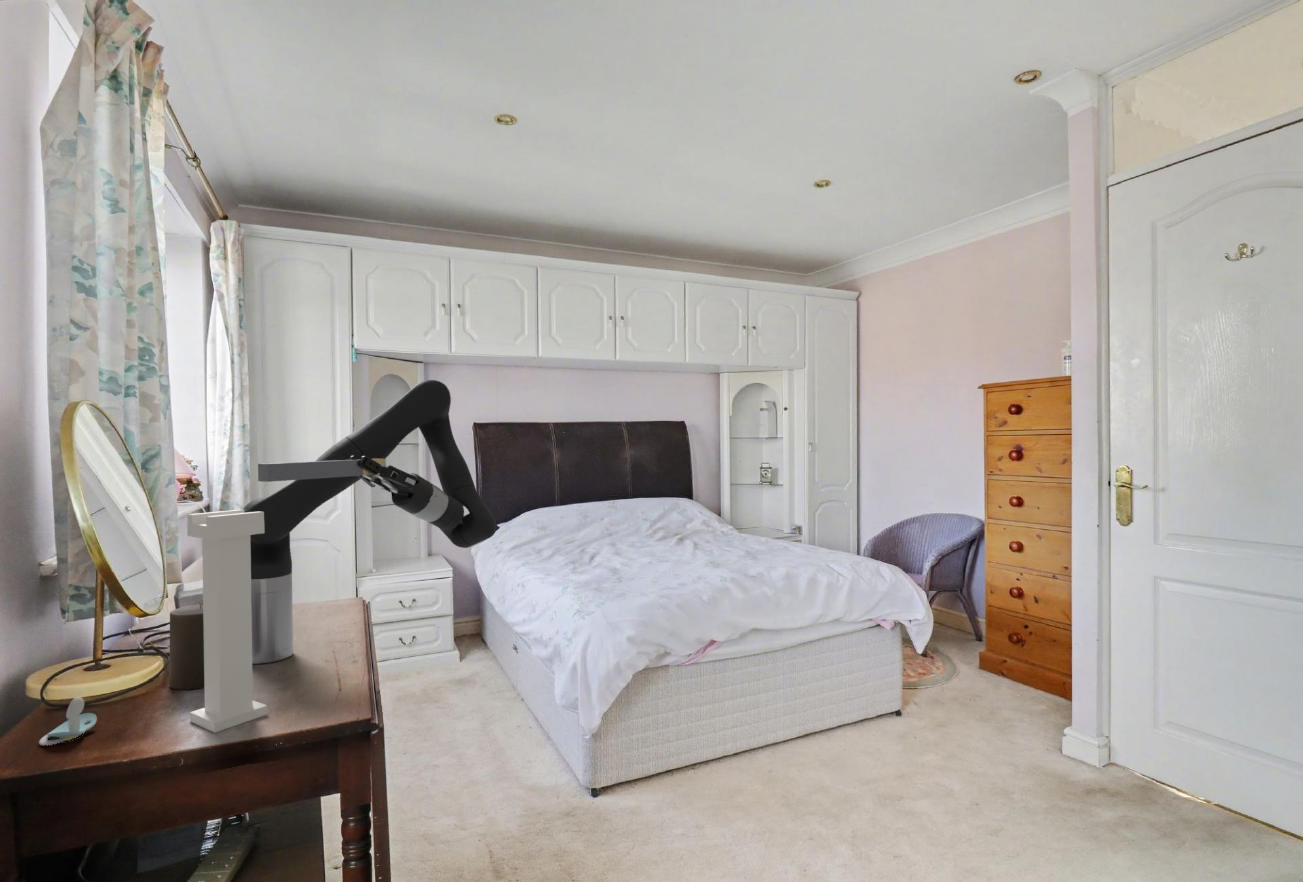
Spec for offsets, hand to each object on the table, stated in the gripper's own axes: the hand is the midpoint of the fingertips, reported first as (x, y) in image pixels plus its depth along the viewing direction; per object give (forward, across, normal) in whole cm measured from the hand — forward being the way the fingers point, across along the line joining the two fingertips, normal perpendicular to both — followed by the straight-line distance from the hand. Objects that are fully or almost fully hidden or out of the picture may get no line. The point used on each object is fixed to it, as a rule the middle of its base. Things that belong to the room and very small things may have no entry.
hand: (356, 460), depth 130 cm
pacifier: (+14, -14, +56) cm, 60 cm away
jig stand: (0, 0, +48) cm, 48 cm away
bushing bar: (+4, 0, +6) cm, 7 cm away
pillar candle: (-5, -23, +45) cm, 51 cm away
